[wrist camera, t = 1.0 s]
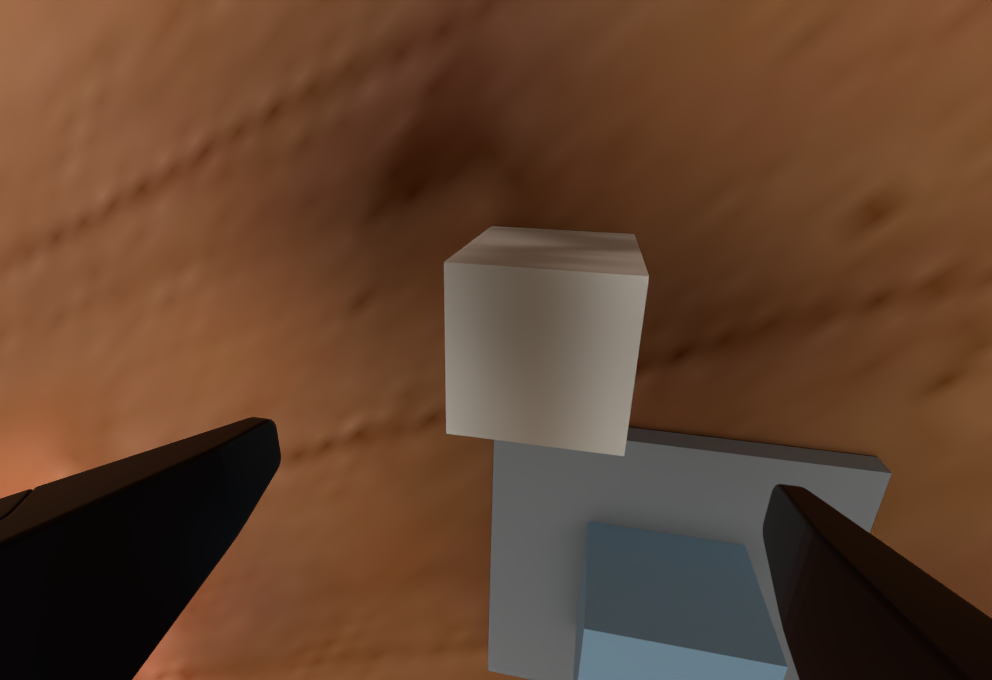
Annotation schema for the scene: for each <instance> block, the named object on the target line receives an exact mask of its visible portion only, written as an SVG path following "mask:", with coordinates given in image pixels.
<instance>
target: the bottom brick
mask: <svg viewBox="0 0 992 680" xmlns="http://www.w3.org/2000/svg"><path fill="white" fill-rule="evenodd" d="M787 668H788V666H787V663H786V660H785V658H784V655H783V652H782V649H781V646H780V643H779V641H778V638H777V635H776V632H775V629H774V626H773V624H772V621H771V618H770V615H769V612H768V609H767V607H766V604H765V601H764V598H763V595H762V592H761V590H760V587H759V584H758V581H757V578H756V575H755V573H754V570H753V567H752V564H751V561H750V558H749V556H748V553H747V550H746V547H745V545H741V544H734V543H727V542H721V541H714V540H708V539H701V538H695V537H688V536H681V535H675V534H668V533H662V532H655V531H649V530H642V529H635V528H629V527H622V526H616V525H609V524H603V523H596V522H589V521H588V528H587V537H586V545H585V554H584V563H583V572H582V580H581V589H580V598H579V607H578V615H577V624H576V639H575V657H574V675H573V680H784V677H785V674H786V671H787Z"/></svg>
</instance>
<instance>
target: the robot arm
mask: <svg viewBox="0 0 992 680" xmlns="http://www.w3.org/2000/svg"><path fill="white" fill-rule="evenodd" d="M280 461H281V453H280V447H279V440H278V434H277V428H276V425H275V423H274V421H272V420H271V419H265V418H257V417H251V418H247V419H244V420H241V421H238V422H235V423H232V424H229V425H226V426H223V427H220V428H216V429H213V430H210V431H207V432H204V433H201V434H198V435H195V436H192V437H189V438H186V439H183V440H180V441H176V442H173V443H170V444H167V445H164V446H161V447H158V448H155V449H152V450H149V451H146V452H143V453H140V454H137V455H133V456H130V457H127V458H124V459H121V460H118V461H115V462H112V463H109V464H106V465H103V466H100V467H97V468H93V469H90V470H87V471H84V472H81V473H78V474H75V475H72V476H69V477H66V478H63V479H60V480H57V481H53V482H50V483H47V484H44V485H41V486H38V487H36V488H35V489H34V490H32V489H29V490H26V491H22V492H19V493H16V494H13V495H10V496H7V497H4V498H1V499H0V680H132V679H133V678H134V676H135V675H136V674H137V672H138V671H139V670H140V668H141V667H142V666H143V664H144V663H145V661H146V660H147V659H148V657H149V656H150V655H151V653H152V652H153V651H154V649H155V648H156V646H157V645H158V644H159V642H160V641H161V640H162V638H163V637H164V636H165V634H166V633H167V632H168V630H169V629H170V627H171V626H172V625H173V623H174V622H175V621H176V619H177V618H178V617H179V615H180V614H181V612H182V611H183V610H184V608H185V607H186V606H187V604H188V603H189V602H190V600H191V599H192V598H193V596H194V595H195V593H196V592H197V591H198V589H199V588H200V587H201V585H202V584H203V583H204V581H205V580H206V578H207V577H208V576H209V574H210V573H211V572H212V570H213V569H214V568H215V566H216V565H217V564H218V562H219V561H220V559H221V558H222V557H223V555H224V554H225V553H226V551H227V550H228V549H229V547H230V546H231V544H232V543H233V542H234V540H235V539H236V537H237V536H238V534H239V533H240V531H241V530H242V528H243V526H244V525H245V523H246V522H247V520H248V518H249V517H250V515H251V513H252V512H253V510H254V508H255V506H256V505H257V503H258V501H259V500H260V498H261V496H262V495H263V493H264V491H265V490H266V488H267V486H268V485H269V483H270V481H271V480H272V478H273V476H274V475H275V473H276V471H277V470H278V467H279V465H280ZM763 541H764V545H765V550H766V555H767V560H768V564H769V569H770V574H771V578H772V583H773V588H774V592H775V597H776V602H777V606H778V611H779V616H780V620H781V624H782V628H783V631H784V635H785V638H786V641H787V645H788V648H789V651H790V654H791V657H792V660H793V663H794V666H795V668H796V671H797V674H798V677H799V680H992V618H990V617H989V616H987V615H986V614H984V613H983V612H982V611H980V610H979V609H977V608H976V607H974V606H973V605H972V604H970V603H969V602H967V601H966V600H964V599H963V598H962V597H960V596H959V595H957V594H956V593H954V592H953V591H952V590H950V589H949V588H947V587H946V586H944V585H943V584H942V583H940V582H939V581H937V580H936V579H934V578H933V577H932V576H930V575H929V574H927V573H926V572H924V571H923V570H922V569H920V568H919V567H917V566H916V565H914V564H913V563H912V562H910V561H909V560H907V559H906V558H904V557H903V556H902V555H900V554H899V553H897V552H896V551H894V550H893V549H892V548H890V547H889V546H887V545H886V544H884V543H883V542H882V541H880V540H879V539H877V538H876V537H874V536H873V535H872V534H870V533H869V532H867V531H866V530H864V529H863V528H862V527H860V526H859V525H857V524H856V523H854V522H853V521H852V520H850V519H849V518H847V517H846V516H844V515H843V514H842V513H840V512H839V511H837V510H836V509H834V508H833V507H832V506H830V505H829V504H827V503H826V502H824V501H823V500H822V499H820V498H819V497H817V496H816V495H814V494H813V493H812V492H810V491H809V490H807V489H806V488H804V487H801V486H793V485H785V484H778V485H776V486H775V487H774V488H773V490H772V492H771V496H770V500H769V504H768V507H767V511H766V515H765V518H764V522H763Z"/></svg>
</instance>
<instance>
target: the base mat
mask: <svg viewBox="0 0 992 680" xmlns="http://www.w3.org/2000/svg"><path fill="white" fill-rule="evenodd" d="M891 474H892V473H891V472H890V471H889V470H888V468H887V467H886V466H885V465H884V464H883V463H882V462H881V460H880V459H879V458H878V457H873V456H865V455H856V454H848V453H840V452H831V451H823V450H814V449H806V448H798V447H789V446H781V445H773V444H764V443H756V442H747V441H739V440H731V439H722V438H714V437H706V436H697V435H689V434H680V433H672V432H664V431H655V430H647V429H639V428H630V427H628V433H627V440H626V447H625V454H624V456H618V455H610V454H602V453H594V452H586V451H579V450H571V449H563V448H555V447H547V446H540V445H532V444H524V443H516V442H509V441H501V440H494V458H493V495H492V533H491V570H490V607H489V644H488V671H492V672H497V673H502V674H507V675H511V676H516V677H521V678H526V679H531V680H573V675H574V657H575V639H576V624H577V615H578V607H579V598H580V589H581V580H582V572H583V563H584V554H585V545H586V537H587V528H588V521H589V522H596V523H603V524H609V525H616V526H622V527H629V528H635V529H642V530H649V531H655V532H662V533H668V534H675V535H681V536H688V537H695V538H701V539H708V540H714V541H721V542H727V543H734V544H741V545H745V547H746V550H747V553H748V556H749V558H750V561H751V564H752V567H753V570H754V573H755V575H756V578H757V581H758V584H759V587H760V590H761V592H762V595H763V598H764V601H765V604H766V607H767V609H768V612H769V615H770V618H771V621H772V624H773V626H774V629H775V632H776V635H777V638H778V641H779V643H780V646H781V649H782V652H783V655H784V658H785V660H786V663H787V666H788V668H787V671H786V674H785V677H784V680H799V677H798V674H797V671H796V668H795V666H794V663H793V660H792V657H791V654H790V651H789V648H788V645H787V641H786V638H785V635H784V631H783V628H782V624H781V620H780V616H779V611H778V606H777V602H776V597H775V592H774V588H773V583H772V578H771V574H770V569H769V564H768V560H767V555H766V550H765V545H764V541H763V522H764V518H765V515H766V511H767V507H768V504H769V500H770V496H771V492H772V490H773V488H774V487H775V486H776V485H778V484H785V485H793V486H801V487H804V488H806V489H807V490H809V491H810V492H812V493H813V494H814V495H816V496H817V497H819V498H820V499H822V500H823V501H824V502H826V503H827V504H829V505H830V506H832V507H833V508H834V509H836V510H837V511H839V512H840V513H842V514H843V515H844V516H846V517H847V518H849V519H850V520H852V521H853V522H854V523H856V524H857V525H859V526H860V527H862V528H863V529H864V530H866V531H867V532H869V533H870V531H871V528H872V525H873V523H874V520H875V517H876V514H877V512H878V509H879V506H880V504H881V501H882V498H883V496H884V493H885V490H886V488H887V485H888V482H889V480H890V477H891Z"/></svg>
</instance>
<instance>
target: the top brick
mask: <svg viewBox="0 0 992 680" xmlns="http://www.w3.org/2000/svg"><path fill="white" fill-rule="evenodd" d="M648 281H649V274H648V271H647V269H646V266H645V263H644V260H643V257H642V254H641V251H640V248H639V245H638V243H637V240H636V237H635V234H625V233H607V232H589V231H572V230H554V229H536V228H518V227H500V226H491V227H489V228H488V229H487V230H485V231H484V232H483V233H481V234H480V235H479V236H478V237H476V238H475V239H474V240H472V241H471V242H470V243H468V244H467V245H466V246H464V247H463V248H462V249H460V250H459V251H458V252H456V253H455V254H454V255H452V256H451V257H450V258H449V259H447V260H446V261H445V262H444V313H445V383H446V434H454V435H462V436H470V437H477V438H485V439H493V440H501V441H509V442H516V443H524V444H532V445H540V446H547V447H555V448H563V449H571V450H579V451H586V452H594V453H602V454H610V455H618V456H624V454H625V447H626V440H627V433H628V425H629V418H630V411H631V404H632V397H633V389H634V382H635V375H636V368H637V360H638V353H639V346H640V339H641V332H642V324H643V317H644V310H645V303H646V295H647V288H648Z"/></svg>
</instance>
